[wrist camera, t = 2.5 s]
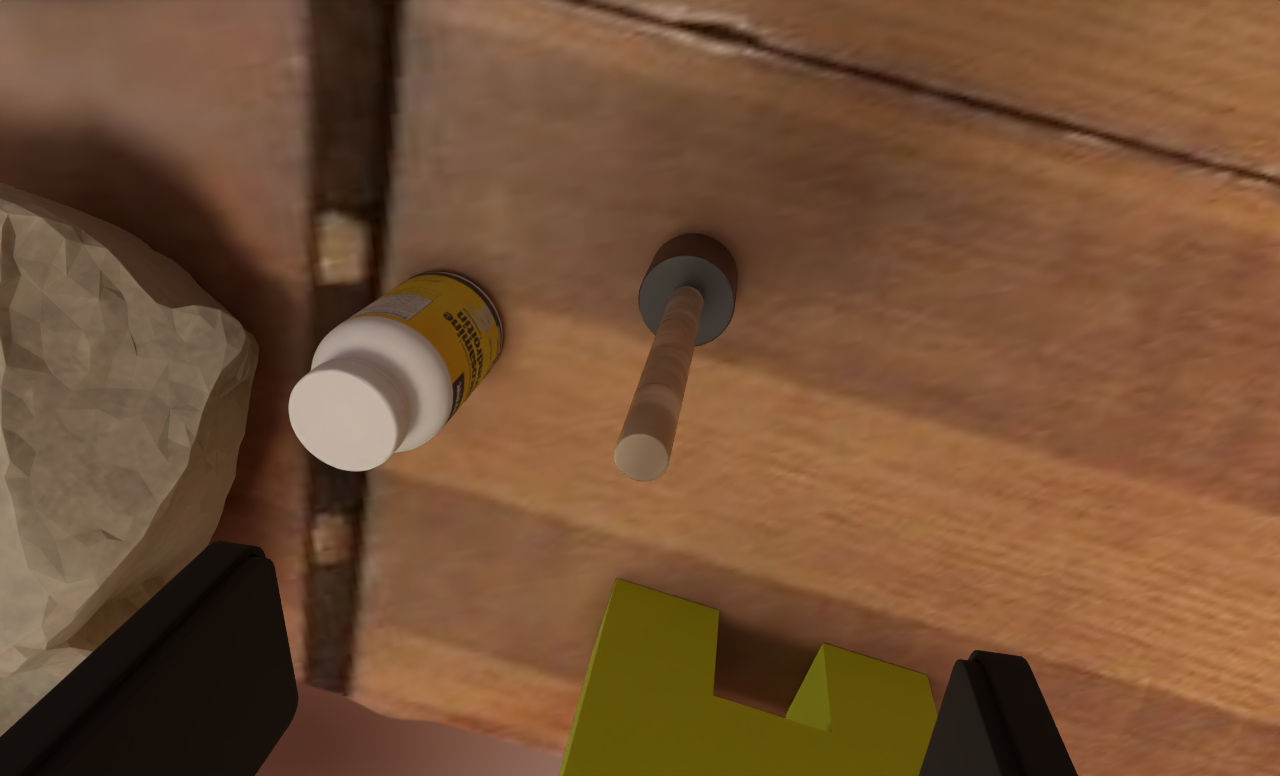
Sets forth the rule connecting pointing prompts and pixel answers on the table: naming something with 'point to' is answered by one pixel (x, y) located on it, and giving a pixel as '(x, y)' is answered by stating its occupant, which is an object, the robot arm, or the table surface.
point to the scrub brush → (674, 344)
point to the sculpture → (102, 433)
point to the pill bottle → (396, 371)
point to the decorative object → (733, 705)
